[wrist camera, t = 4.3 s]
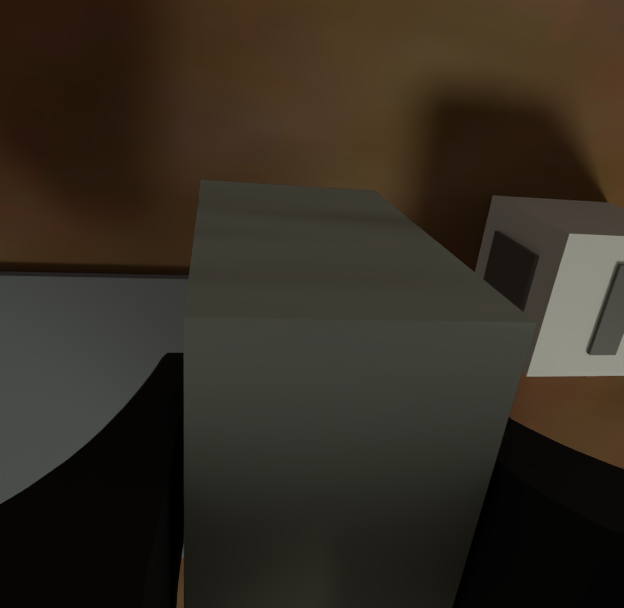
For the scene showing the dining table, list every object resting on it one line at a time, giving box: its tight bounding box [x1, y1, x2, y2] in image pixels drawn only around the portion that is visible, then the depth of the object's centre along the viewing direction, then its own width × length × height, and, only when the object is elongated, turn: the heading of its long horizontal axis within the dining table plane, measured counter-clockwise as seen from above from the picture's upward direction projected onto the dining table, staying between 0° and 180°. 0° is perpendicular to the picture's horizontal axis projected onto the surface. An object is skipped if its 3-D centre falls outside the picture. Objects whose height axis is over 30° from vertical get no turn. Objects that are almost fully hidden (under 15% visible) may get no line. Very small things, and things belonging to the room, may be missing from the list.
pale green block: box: [184, 180, 536, 608], centre depth 11 cm, size 8×4×7 cm, turn 174°
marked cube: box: [475, 195, 624, 376], centre depth 20 cm, size 5×5×5 cm
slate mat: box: [0, 271, 189, 558], centre depth 22 cm, size 14×10×1 cm
